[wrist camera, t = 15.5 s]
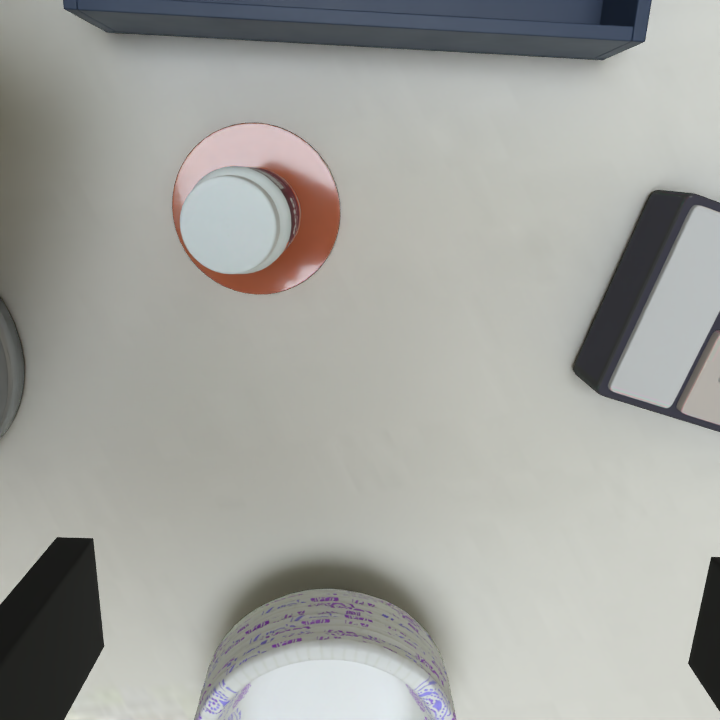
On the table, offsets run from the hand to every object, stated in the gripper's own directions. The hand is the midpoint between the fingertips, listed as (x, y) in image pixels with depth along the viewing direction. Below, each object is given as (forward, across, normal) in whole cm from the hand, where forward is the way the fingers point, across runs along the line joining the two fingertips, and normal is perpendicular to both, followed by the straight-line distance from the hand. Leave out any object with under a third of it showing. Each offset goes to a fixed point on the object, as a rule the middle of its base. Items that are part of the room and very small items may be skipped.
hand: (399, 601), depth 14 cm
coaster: (+24, -7, +7) cm, 26 cm away
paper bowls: (+24, -2, -22) cm, 33 cm away
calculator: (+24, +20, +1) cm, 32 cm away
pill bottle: (+24, -7, +6) cm, 25 cm away
